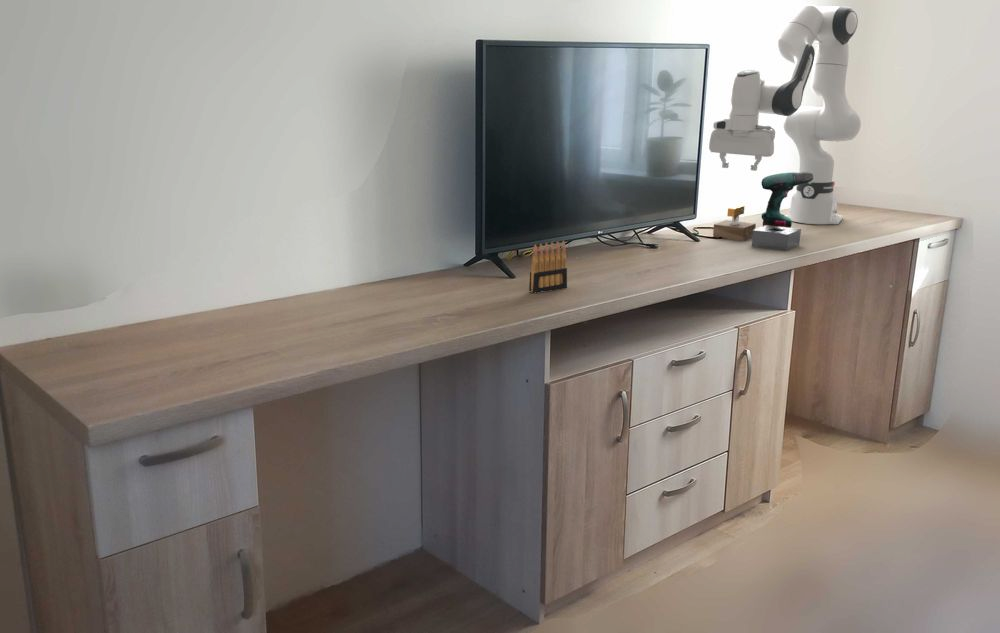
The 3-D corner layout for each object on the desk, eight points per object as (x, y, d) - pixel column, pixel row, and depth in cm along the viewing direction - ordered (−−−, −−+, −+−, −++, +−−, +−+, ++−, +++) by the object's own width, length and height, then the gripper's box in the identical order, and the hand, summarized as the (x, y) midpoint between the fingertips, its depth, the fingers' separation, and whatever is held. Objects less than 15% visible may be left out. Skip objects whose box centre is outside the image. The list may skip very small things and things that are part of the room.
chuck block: (764, 240, 300) (766, 225, 298) (799, 245, 293) (801, 229, 292) (751, 246, 291) (752, 230, 290) (786, 251, 285) (788, 234, 283)
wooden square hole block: (725, 232, 313) (726, 220, 311) (754, 235, 307) (755, 223, 306) (712, 236, 305) (713, 224, 304) (742, 240, 299) (743, 228, 298)
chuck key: (735, 234, 310) (738, 205, 307) (742, 234, 308) (744, 205, 306) (725, 237, 303) (728, 208, 301) (732, 238, 302) (734, 208, 300)
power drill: (810, 235, 309) (817, 173, 304) (759, 234, 309) (765, 172, 304) (804, 231, 316) (810, 170, 311) (754, 230, 316) (760, 169, 311)
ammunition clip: (533, 293, 232) (534, 245, 229) (528, 292, 233) (529, 244, 230) (567, 287, 238) (568, 240, 235) (562, 286, 239) (563, 239, 236)
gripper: (779, 125, 293) (775, 171, 296) (717, 121, 304) (713, 165, 308) (771, 126, 288) (767, 172, 292) (708, 122, 299) (705, 167, 303)
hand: (739, 169), depth 300 cm, fingers open, 8 cm apart
